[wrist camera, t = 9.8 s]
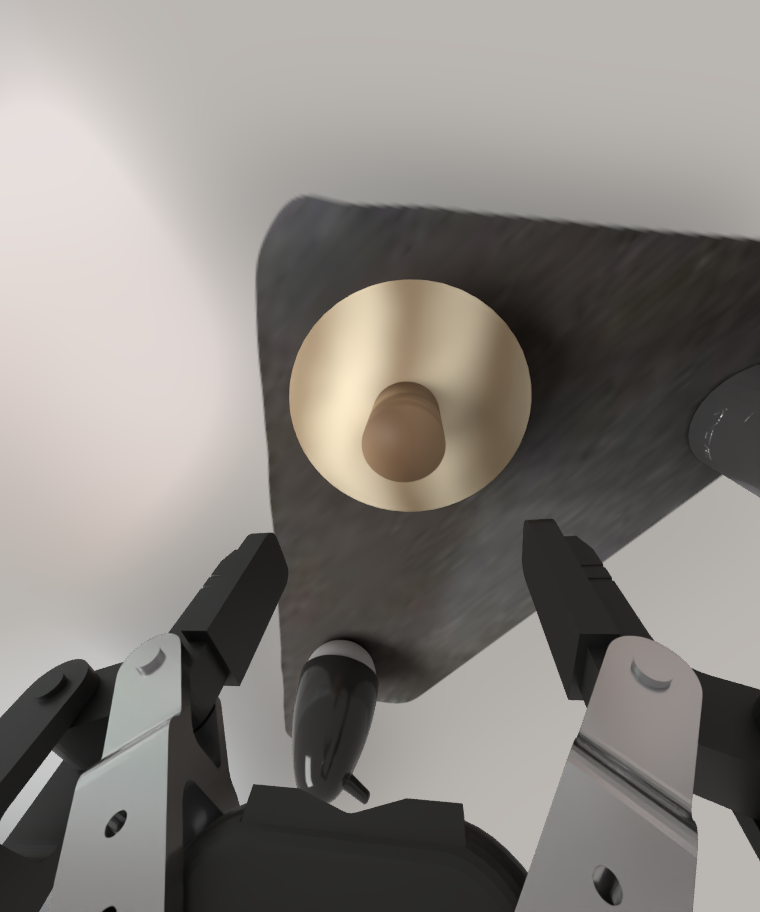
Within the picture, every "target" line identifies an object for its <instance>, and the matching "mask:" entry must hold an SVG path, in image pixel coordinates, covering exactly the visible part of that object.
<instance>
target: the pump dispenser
mask: <svg viewBox="0 0 760 912" xmlns="http://www.w3.org/2000/svg"><path fill="white" fill-rule="evenodd" d="M378 687H379V682H378V678H377V676H376V670H375V666H374V663H373V660H372V658H371V657H370V655H369V654H368V652H367V651H366V650H365V649H364V648H363V647H361V646H360V645H358V644H356V643H354V642H351V641H347V640H333V641H329V642H327V643H325V644H323V645H321V646H320V647H319V648H318V649H316V651H315V652H314V653H313V654H312V655H311V657H310V658H309V660H308V662H306V664H305V665H304V666H303V668H302V671H301V674H300V678H299V682H298V687H297V692H296V698H295V705H294V713H293V726H292V755H293V768H294V775H295V781H296V785H297V788H299V789H302V790H304V791H306V792H308V793H310V794H312V795H313V796H315V797H317V798H319V799H321V800H323V801H325V802H327V803H330V802H332V801H333V800H334V799H336V797H337V796H338V795H339V794H340V793H341V791H342V790H345V791H346V792H348V793H349V794H351V795H352V796H353V797H355V798H356V799H357V800H359V801H360V802H362V803H363V804H366V803H367V802H368V800H369V797H370V792H369V791H368V789H366V788H365V787H364V786H363V785H362V783H361V782H359V780H358V779H357V778H356V777H355V776H354V775H353V774H352V773H353V771H354V769H355V766H356V764H357V762H358V760H359V758H360V755H361V753H362V750H363V748H364V745H365V742H366V739H367V736H368V733H369V730H370V727H371V723H372V719H373V715H374V710H375V706H376V701H377V696H378Z"/></svg>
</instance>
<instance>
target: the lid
mask: <svg viewBox="0 0 760 912" xmlns="http://www.w3.org/2000/svg"><path fill="white" fill-rule="evenodd" d="M289 401H290V411H291V417H292V422H293V426H294V430H295V432H296V435H297V438H298V440H299V443H300V445H301V446H302V448H303V450H304V452H305V454H306V456H307V457H308V458H309V460H310V461H311V463H312V464H313V466H314V467H315V468H316V469H317V470H318V471H319V473H320V474H321V475H322V476H323V477H324V478H325V479H327V480H328V481H329V482H330V483H331V484H332V485H333V486H335V487H336V488H338V489H339V490H340V491H342V492H343V493H345V494H347V495H349V496H350V497H352V498H354V499H356V500H358V501H361V502H363V503H365V504H368V505H372V506H375V507H378V508H383V509H388V510H394V511H405V512H406V511H425V510H432V509H437V508H441V507H445V506H448V505H451V504H454V503H456V502H459V501H461V500H463V499H465V498H467V497H469V496H471V495H473V494H474V493H476V492H478V491H479V490H481V489H482V488H484V487H485V486H486V485H487V484H488V483H490V482H491V481H492V480H493V479H494V478H495V477H496V476H497V475H498V474H499V473H500V472H501V471H502V470H503V469H504V468H505V467H506V465H507V464H508V463H509V461H510V460H511V459H512V457H513V456H514V454H515V452H516V450H517V449H518V447H519V445H520V443H521V441H522V438H523V436H524V433H525V431H526V427H527V424H528V420H529V416H530V408H531V381H530V375H529V369H528V365H527V362H526V359H525V356H524V353H523V351H522V349H521V347H520V345H519V343H518V341H517V339H516V337H515V336H514V334H513V333H512V331H511V330H510V329H509V327H508V326H507V324H506V323H505V322H504V321H503V320H502V319H501V318H500V317H499V316H498V315H497V314H496V313H495V312H494V311H493V310H492V309H491V308H490V307H488V306H487V305H486V304H484V303H483V302H482V301H480V300H479V299H478V298H476V297H474V296H472V295H470V294H468V293H466V292H465V291H463V290H460V289H458V288H455V287H452V286H449V285H446V284H443V283H438V282H432V281H427V280H408V279H406V280H397V281H388V282H384V283H381V284H377V285H373V286H370V287H367V288H365V289H363V290H360V291H358V292H356V293H353V294H352V295H350V296H348V297H347V298H345V299H344V300H342V301H340V302H339V303H337V304H336V305H335V306H334V307H333V308H331V309H330V310H329V311H328V312H327V313H325V314H324V315H323V317H322V318H321V319H320V320H319V321H318V322H317V323H316V324H315V325H314V327H313V328H312V330H311V331H310V332H309V334H308V335H307V337H306V338H305V340H304V342H303V344H302V346H301V348H300V350H299V352H298V354H297V357H296V360H295V364H294V367H293V370H292V376H291V381H290V396H289Z"/></svg>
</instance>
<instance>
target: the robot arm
mask: <svg viewBox="0 0 760 912" xmlns="http://www.w3.org/2000/svg"><path fill="white" fill-rule="evenodd" d="M688 438H689V446H690V448H691V450H692V452H693V454H694V455H695V456H696V457H697V458H698V459H699V460H700V461H701V462H703V463H705V464H706V465H708V466H710V467H711V468H713V469H714V470H716V471H718V472H719V473H721V474H723V475H724V476H726V477H728V478H729V479H731V480H733V481H734V482H736V483H737V484H739V485H741V486H742V487H744V488H745V489H747V490H748V491H750V492H752V493H753V494H755V495H757V496H758V497H760V364H758V365H755V366H752V367H750V368H748V369H746V370H743V371H741V372H739V373H737V374H736V375H734V376H732V377H731V378H729V379H727V380H726V381H724V382H723V383H722V384H721V385H719V386H718V387H717V388H716V389H714V390H713V391H712V392H711V393H710V394H709V395H708V396H707V398H706V399H705V400H704V401H703V402H702V403H701V405H700V406H699V408H698V409H697V411H696V412H695V414H694V416H693V419H692V421H691V424H690V428H689V434H688ZM522 565H523V572H524V576H525V580H526V583H527V586H528V589H529V591H530V594H531V597H532V600H533V602H534V605H535V608H536V611H537V614H538V616H539V619H540V622H541V625H542V628H543V630H544V633H545V636H546V639H547V641H548V644H549V647H550V650H551V653H552V656H553V658H554V661H555V664H556V667H557V670H558V672H559V675H560V678H561V681H562V683H563V686H564V689H565V692H566V695H567V697H568V699H569V700H584V702H585V705H586V707H587V710H586V713H585V716H584V719H583V722H582V725H581V728H580V731H579V733H578V736H577V738H576V739H575V740H574V743H573V745H572V748H571V750H570V753H569V756H568V759H567V762H566V765H565V767H564V770H563V773H562V776H561V779H560V782H559V785H558V788H557V791H556V793H555V796H554V799H553V802H552V805H551V808H550V811H549V814H548V817H547V820H546V822H545V825H544V828H543V831H542V834H541V837H540V840H539V843H538V846H537V849H536V851H535V854H534V857H533V860H532V863H531V866H530V869H529V872H527V871H526V870H525V868H524V867H523V866H522V865H521V864H520V863H519V861H518V860H517V859H516V858H515V857H514V856H513V855H512V854H511V853H510V852H509V851H508V850H507V849H506V848H505V847H504V846H503V845H501V844H500V843H499V842H498V841H497V840H496V839H494V838H493V837H492V836H490V835H489V834H488V833H486V832H485V831H483V830H482V829H480V828H479V827H477V826H475V825H473V824H470V823H468V822H466V821H465V820H464V811H463V804H460V803H451V802H440V801H429V800H418V799H403V800H400V801H396V802H392V803H389V804H385V805H381V806H378V807H374V808H371V809H367V810H363V811H360V812H356V813H346V812H343V811H341V810H339V809H338V808H336V807H334V806H332V805H330V804H328V803H327V802H325V801H323V800H321V799H319V798H317V797H315V796H313V795H312V794H310V793H308V792H306V791H304V790H302V789H299V788H288V787H276V786H266V785H255V784H254V785H253V787H252V790H251V793H250V796H249V799H248V802H247V803H246V804H244V805H241V806H240V805H239V801H238V798H237V795H236V792H235V789H234V787H233V784H232V781H231V778H230V773H229V767H228V759H227V750H226V742H225V733H224V725H223V716H222V707H221V701H220V699H219V697H218V696H219V694H220V692H221V690H222V688H223V686H240V684H241V682H242V680H243V678H244V676H245V673H246V671H247V669H248V667H249V665H250V663H251V660H252V658H253V656H254V654H255V652H256V649H257V647H258V645H259V643H260V641H261V639H262V636H263V634H264V632H265V630H266V628H267V626H268V623H269V621H270V619H271V617H272V615H273V612H274V610H275V608H276V606H277V604H278V601H279V599H280V597H281V595H282V593H283V591H284V588H285V586H286V584H287V580H288V567H287V564H286V561H285V558H284V556H283V553H282V551H281V548H280V545H279V543H278V540H277V537H276V536H275V534H274V533H257V534H250V535H248V536H247V537H246V539H245V540H244V542H243V543H242V544H241V546H240V547H239V549H238V550H234V551H233V552H232V553H231V554H229V555H228V556H227V557H226V558H225V559H223V560H222V561H221V562H220V564H219V565H218V566H217V568H216V569H215V570H214V572H213V573H212V575H211V577H209V578H208V580H207V581H206V583H205V584H204V585H203V589H201V590H200V591H199V592H198V593H197V595H196V596H195V598H194V599H193V601H192V602H191V603H190V604H189V606H188V607H187V608H186V610H185V611H184V612H183V614H182V615H181V617H180V618H179V619H178V621H177V622H176V623H175V625H174V626H173V628H172V629H171V630H170V631H169V633H166V634H161V635H158V636H155V637H153V638H151V639H149V640H147V641H146V642H144V643H143V644H141V645H140V646H139V647H138V648H136V649H135V650H134V651H133V652H132V653H131V654H130V655H129V656H128V657H127V658H126V660H125V661H124V662H122V663H119V664H115V665H112V666H109V667H106V668H102V669H99V670H96V671H94V670H93V669H92V667H91V666H90V665H89V664H88V663H87V662H86V661H85V660H82V659H75V660H71V661H68V662H65V663H63V664H61V665H59V666H57V667H55V668H53V669H51V670H50V671H49V672H47V673H46V674H44V675H43V676H41V677H40V678H39V679H38V680H37V681H35V682H34V683H33V684H32V685H31V686H30V687H29V688H28V689H27V690H26V691H25V692H24V693H23V694H22V695H21V696H20V697H19V699H18V700H17V701H16V702H15V703H14V704H13V705H12V706H11V707H10V708H9V709H8V710H7V711H6V712H5V713H4V714H3V715H2V717H1V718H0V820H1V818H2V816H3V815H4V813H5V811H6V810H7V808H8V807H9V806H10V804H11V803H12V802H13V801H14V799H15V798H16V796H17V795H18V794H19V793H20V791H21V790H22V789H23V787H24V786H25V785H26V783H27V782H28V781H29V779H30V778H31V777H32V776H33V774H34V773H35V772H36V770H37V769H38V768H39V766H40V765H41V764H42V762H43V761H44V760H45V758H46V757H47V756H48V754H49V753H50V752H51V751H53V752H55V753H56V754H57V755H58V756H59V757H61V758H62V759H63V761H62V763H61V764H60V766H59V767H58V768H57V770H56V771H55V772H54V774H53V775H52V777H51V778H50V779H49V781H48V782H47V784H46V785H45V786H44V788H43V789H42V791H41V792H40V794H39V795H38V796H37V797H36V799H35V800H34V802H33V803H32V805H31V806H30V807H29V809H28V810H27V811H26V813H25V814H24V816H23V817H22V818H21V820H20V821H19V823H18V824H17V825H16V827H15V828H14V829H13V831H12V832H11V834H10V835H9V837H8V838H7V839H6V841H5V842H4V843H3V844H2V845H1V844H0V912H39V911H40V909H41V907H42V906H43V904H44V902H45V901H46V899H47V897H48V895H49V894H50V892H51V890H52V889H53V890H52V895H51V900H50V904H49V908H48V912H693V900H694V888H695V876H696V864H697V851H698V833H697V826H696V823H695V821H693V819H692V813H691V807H692V795H693V794H695V795H698V796H700V797H702V798H705V799H707V800H709V801H712V802H714V803H717V804H719V805H722V806H724V807H726V808H729V809H731V810H732V811H733V813H734V815H735V816H736V818H737V820H738V822H739V824H740V826H741V827H742V829H743V831H744V833H745V835H746V837H747V838H748V840H749V842H750V844H751V846H752V847H753V849H754V851H755V853H756V855H757V856H758V858H759V860H760V690H759V689H756V688H752V687H749V686H745V685H742V684H738V683H735V682H731V681H728V680H724V679H721V678H717V677H714V676H710V675H707V674H704V673H701V672H699V671H696V670H694V669H692V668H690V666H689V665H688V664H687V663H686V662H685V661H684V660H683V659H682V658H681V657H680V656H678V655H677V654H676V653H674V652H673V651H671V650H670V649H669V648H667V647H665V646H663V645H662V644H660V643H658V642H655V641H654V640H653V639H652V637H651V636H650V635H649V633H648V632H647V630H646V629H645V627H644V626H643V624H642V623H641V621H640V619H639V618H638V617H637V615H636V613H635V612H634V611H633V609H632V607H631V606H630V604H629V603H628V601H627V600H626V598H625V597H624V595H623V594H622V592H621V591H620V589H619V588H618V586H617V585H616V583H615V582H614V581H612V577H611V576H610V574H609V573H608V571H607V570H606V568H604V567H603V563H602V562H601V560H600V559H599V557H598V556H597V554H596V553H595V551H594V550H593V549H592V548H591V547H590V546H589V545H587V544H586V543H585V542H583V541H582V540H581V539H579V538H578V537H577V536H563V534H562V532H561V531H560V529H559V527H558V525H557V524H556V522H555V521H554V520H553V519H539V520H525V521H524V528H523V550H522Z"/></svg>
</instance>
